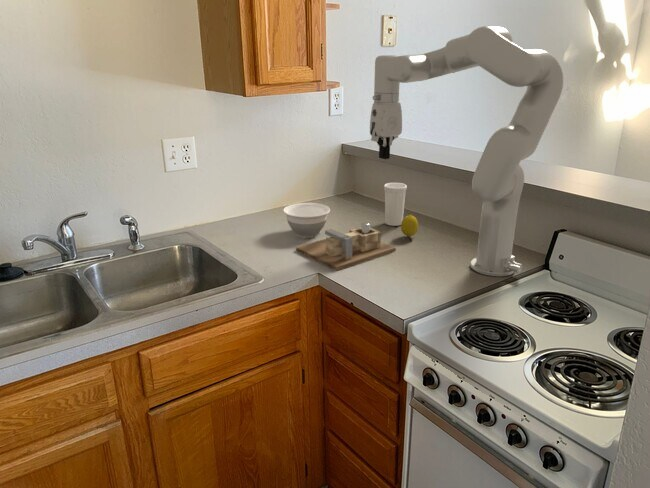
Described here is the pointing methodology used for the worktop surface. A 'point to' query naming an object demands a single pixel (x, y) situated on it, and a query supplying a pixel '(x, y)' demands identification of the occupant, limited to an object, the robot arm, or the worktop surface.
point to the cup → (394, 203)
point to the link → (355, 242)
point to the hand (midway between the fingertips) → (384, 158)
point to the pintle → (365, 228)
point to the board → (336, 262)
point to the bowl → (306, 218)
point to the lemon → (409, 225)
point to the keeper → (345, 242)
